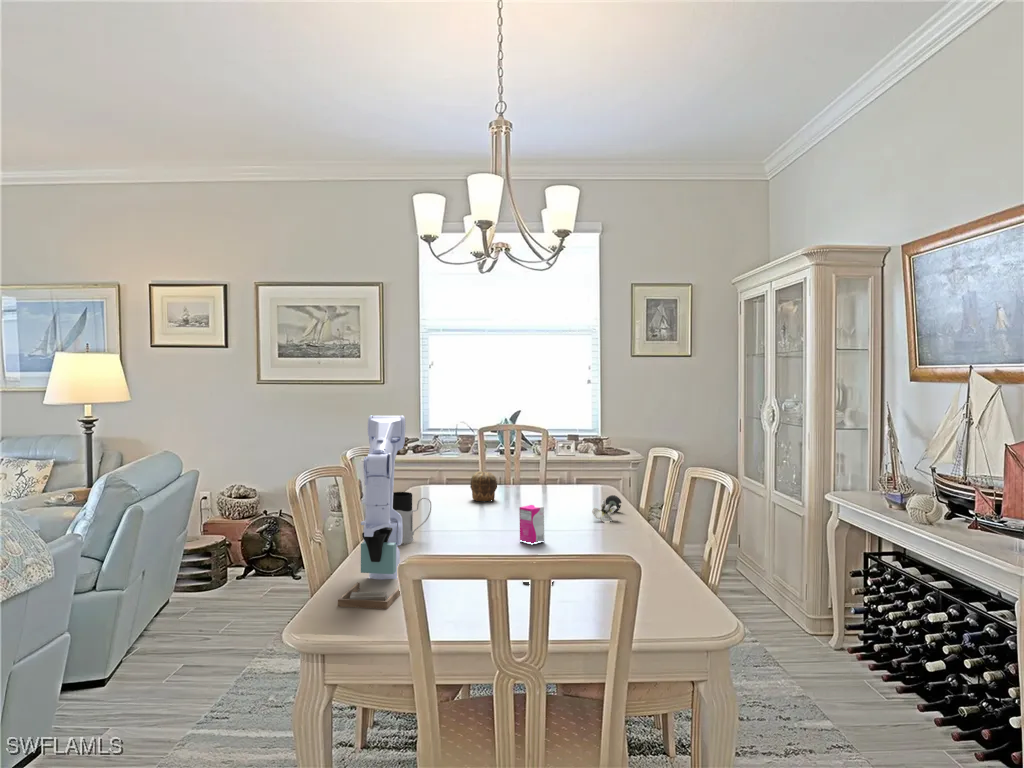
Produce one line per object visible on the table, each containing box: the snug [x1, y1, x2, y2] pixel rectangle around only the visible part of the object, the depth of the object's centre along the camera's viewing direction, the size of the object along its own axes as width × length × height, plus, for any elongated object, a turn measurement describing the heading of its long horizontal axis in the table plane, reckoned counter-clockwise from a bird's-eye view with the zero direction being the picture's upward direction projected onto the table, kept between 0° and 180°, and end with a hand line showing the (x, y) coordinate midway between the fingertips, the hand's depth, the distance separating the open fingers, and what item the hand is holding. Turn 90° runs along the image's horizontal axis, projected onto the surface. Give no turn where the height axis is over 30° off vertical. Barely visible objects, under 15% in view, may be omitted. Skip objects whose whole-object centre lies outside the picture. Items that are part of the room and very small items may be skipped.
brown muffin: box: [469, 471, 498, 502], centre depth 314 cm, size 11×11×12 cm
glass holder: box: [393, 491, 432, 545], centre depth 244 cm, size 9×14×15 cm, turn 95°
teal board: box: [360, 540, 396, 574], centre depth 185 cm, size 2×8×7 cm, turn 83°
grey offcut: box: [349, 591, 388, 601], centre depth 177 cm, size 4×8×2 cm, turn 95°
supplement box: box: [518, 504, 545, 543], centre depth 243 cm, size 6×6×12 cm
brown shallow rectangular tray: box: [337, 581, 401, 610], centre depth 180 cm, size 14×12×3 cm
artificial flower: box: [591, 494, 622, 523], centre depth 283 cm, size 9×22×10 cm, turn 156°
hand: (377, 559), depth 185 cm, fingers closed on teal board, 2 cm apart
